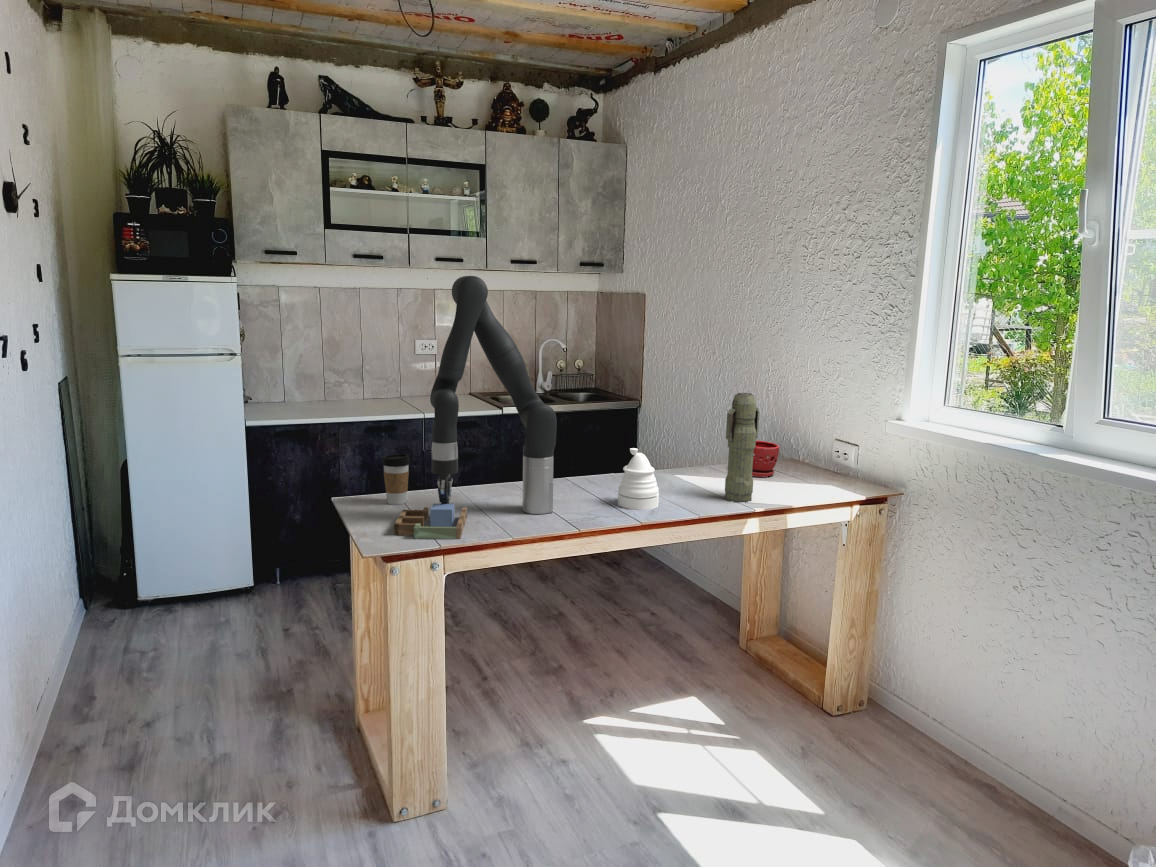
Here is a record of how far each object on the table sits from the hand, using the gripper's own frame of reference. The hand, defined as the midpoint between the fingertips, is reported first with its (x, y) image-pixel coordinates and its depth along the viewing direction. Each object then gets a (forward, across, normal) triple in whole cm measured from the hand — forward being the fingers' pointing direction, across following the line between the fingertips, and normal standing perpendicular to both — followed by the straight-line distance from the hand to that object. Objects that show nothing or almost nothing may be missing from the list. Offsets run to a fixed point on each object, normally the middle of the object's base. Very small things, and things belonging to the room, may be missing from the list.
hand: (445, 514), depth 229 cm
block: (+1, -6, 0) cm, 6 cm away
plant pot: (+2, +60, -109) cm, 125 cm away
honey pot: (+1, +17, -59) cm, 61 cm away
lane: (+1, -10, +3) cm, 10 cm away
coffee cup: (+1, +16, +17) cm, 24 cm away
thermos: (+1, +24, -93) cm, 96 cm away
